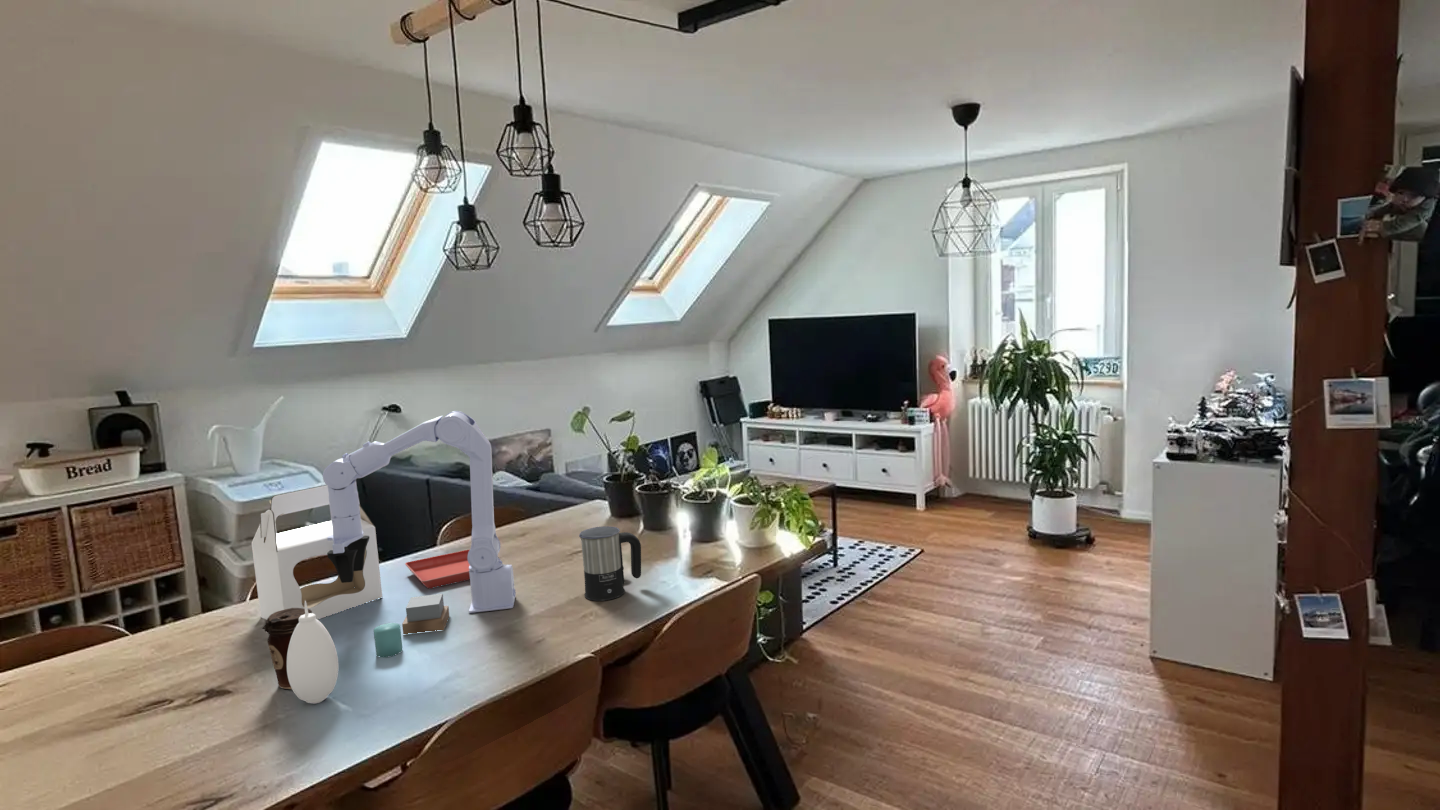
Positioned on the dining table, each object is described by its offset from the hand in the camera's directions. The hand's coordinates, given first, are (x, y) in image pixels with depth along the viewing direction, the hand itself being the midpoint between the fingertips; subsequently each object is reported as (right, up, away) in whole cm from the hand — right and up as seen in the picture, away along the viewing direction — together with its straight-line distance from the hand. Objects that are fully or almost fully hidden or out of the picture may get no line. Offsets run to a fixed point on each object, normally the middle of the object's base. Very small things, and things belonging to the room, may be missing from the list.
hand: (352, 576), depth 172 cm
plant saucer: (+11, -7, +30) cm, 33 cm away
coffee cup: (+3, -14, -27) cm, 31 cm away
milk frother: (+53, -6, +14) cm, 55 cm away
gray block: (+17, -7, -4) cm, 19 cm away
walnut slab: (+18, -10, -3) cm, 21 cm away
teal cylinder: (+15, -11, -16) cm, 25 cm away
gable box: (-12, -10, +11) cm, 18 cm away
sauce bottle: (+10, -14, -35) cm, 39 cm away
